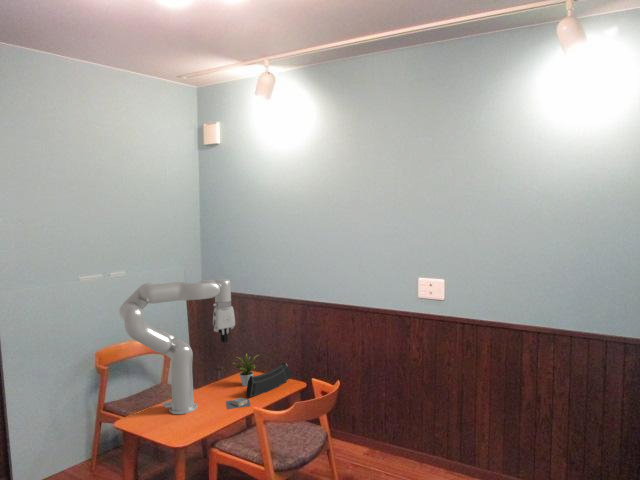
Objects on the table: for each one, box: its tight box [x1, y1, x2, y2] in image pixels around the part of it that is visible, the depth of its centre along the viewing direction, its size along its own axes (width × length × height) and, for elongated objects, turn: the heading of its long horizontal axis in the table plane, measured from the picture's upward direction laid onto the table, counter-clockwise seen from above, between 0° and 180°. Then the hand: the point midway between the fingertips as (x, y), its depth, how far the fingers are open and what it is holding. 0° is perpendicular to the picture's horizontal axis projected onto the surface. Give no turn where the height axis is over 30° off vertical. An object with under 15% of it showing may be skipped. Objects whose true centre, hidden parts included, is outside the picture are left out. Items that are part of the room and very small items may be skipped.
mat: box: [225, 397, 252, 410], centre depth 233 cm, size 11×10×1 cm
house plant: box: [232, 353, 259, 387], centre depth 259 cm, size 14×14×16 cm
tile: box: [231, 397, 247, 406], centre depth 233 cm, size 2×5×5 cm
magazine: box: [245, 361, 292, 398], centre depth 250 cm, size 17×3×30 cm
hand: (224, 341), depth 239 cm, fingers closed
